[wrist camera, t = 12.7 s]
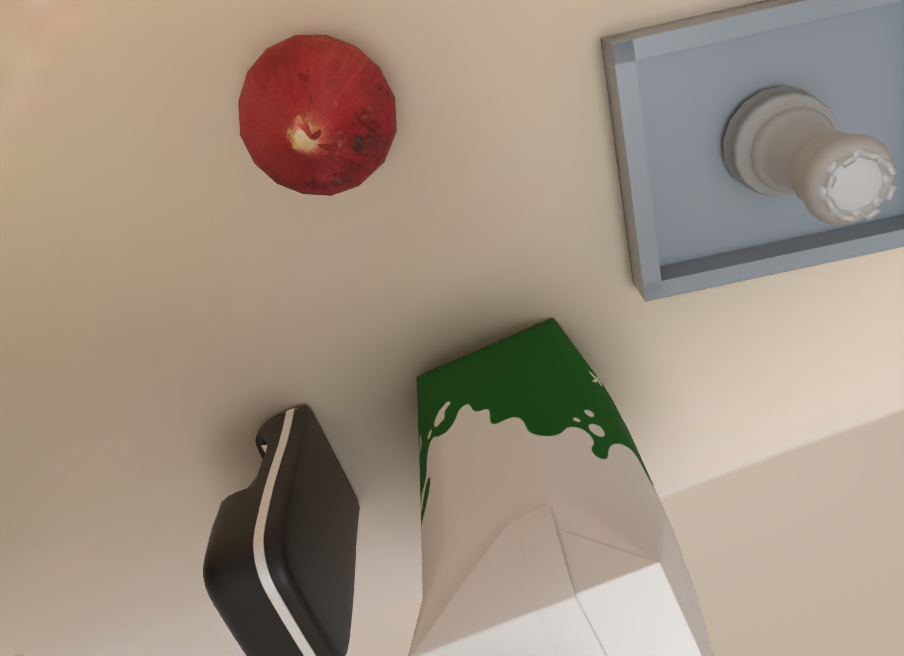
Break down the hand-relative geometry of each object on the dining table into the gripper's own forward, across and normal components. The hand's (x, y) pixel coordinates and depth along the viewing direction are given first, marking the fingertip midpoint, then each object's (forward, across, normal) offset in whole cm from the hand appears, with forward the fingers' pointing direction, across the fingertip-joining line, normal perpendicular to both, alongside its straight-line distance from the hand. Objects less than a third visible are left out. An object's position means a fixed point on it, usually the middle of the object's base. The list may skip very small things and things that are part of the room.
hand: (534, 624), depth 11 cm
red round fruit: (+28, +4, -3) cm, 29 cm away
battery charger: (+28, +10, +14) cm, 33 cm away
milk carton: (+28, -1, +13) cm, 31 cm away
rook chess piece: (+27, -14, +2) cm, 31 cm away
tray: (+28, -14, +2) cm, 31 cm away
